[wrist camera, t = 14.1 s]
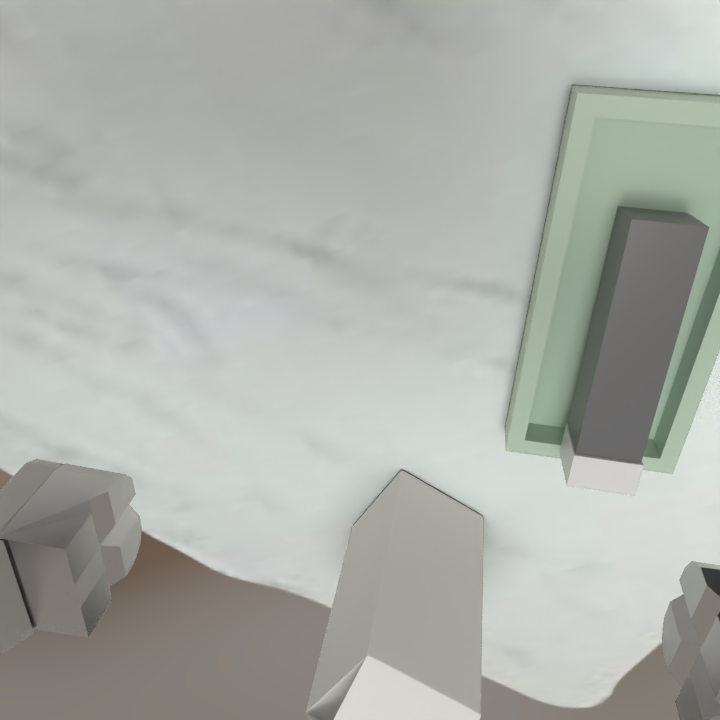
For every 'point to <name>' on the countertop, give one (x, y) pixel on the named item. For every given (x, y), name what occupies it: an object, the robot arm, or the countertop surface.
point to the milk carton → (406, 613)
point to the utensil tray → (589, 249)
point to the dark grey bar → (630, 346)
